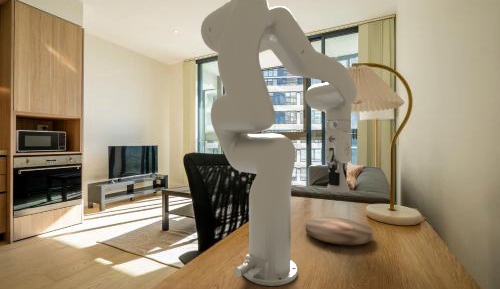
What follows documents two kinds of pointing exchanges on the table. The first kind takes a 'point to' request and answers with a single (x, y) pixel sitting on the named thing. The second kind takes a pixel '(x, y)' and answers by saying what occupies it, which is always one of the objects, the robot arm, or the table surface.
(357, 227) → the turntable
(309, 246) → the table surface
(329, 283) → the table surface
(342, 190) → the flask
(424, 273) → the table surface
